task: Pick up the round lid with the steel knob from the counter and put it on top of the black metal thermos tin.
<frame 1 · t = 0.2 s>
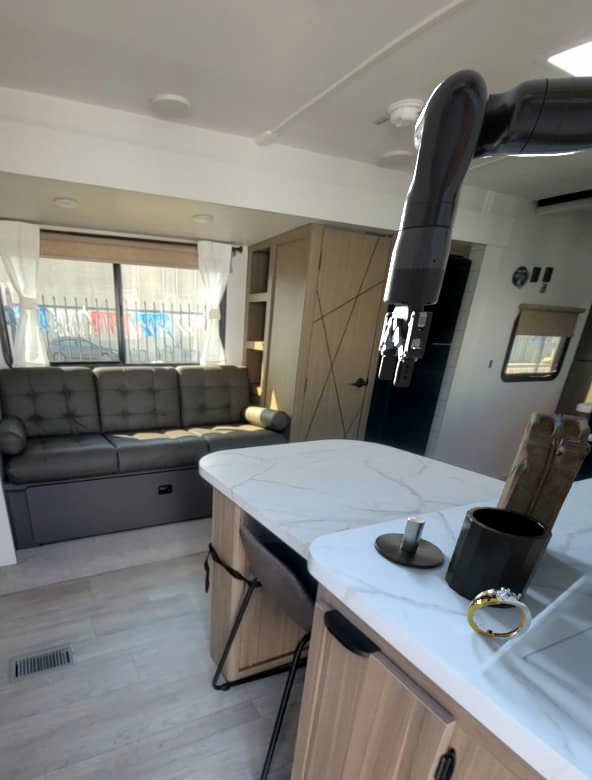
hand: (392, 382, 66), 30 cm above the table, tool pointing down, fingers open, 8 cm apart
tin: (480, 589, 66), on the table
lid: (407, 551, 75), point 1 cm above the table
ring: (488, 639, 56), on the table
weathered brown block: (507, 552, 77), on the table
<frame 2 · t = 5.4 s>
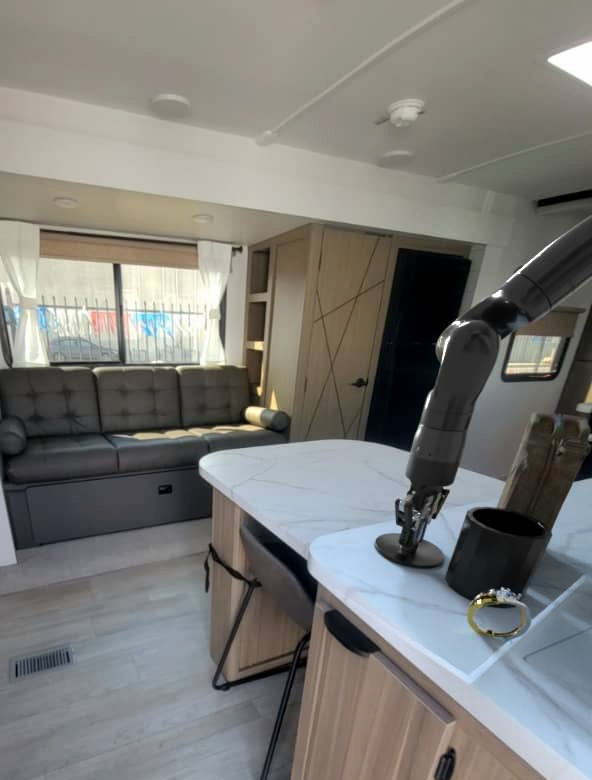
hand: (410, 542, 74), 2 cm above the table, tool pointing down, fingers closed on lid, 3 cm apart
lid: (407, 551, 75), point 1 cm above the table, touching gripper
everything else where it was.
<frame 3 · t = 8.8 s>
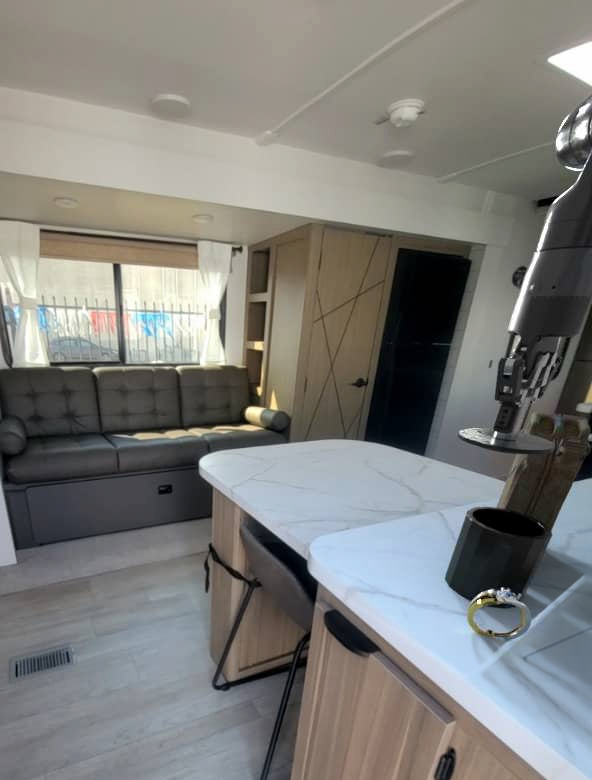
hand: (507, 430, 58), 25 cm above the table, tool pointing down, fingers closed on lid, 3 cm apart
lid: (503, 442, 59), point 24 cm above the table, touching gripper
everything else where it was.
when the fingers open (14 cm above the table, at t = 12.4 s): lid stays where it is, resting on tin.
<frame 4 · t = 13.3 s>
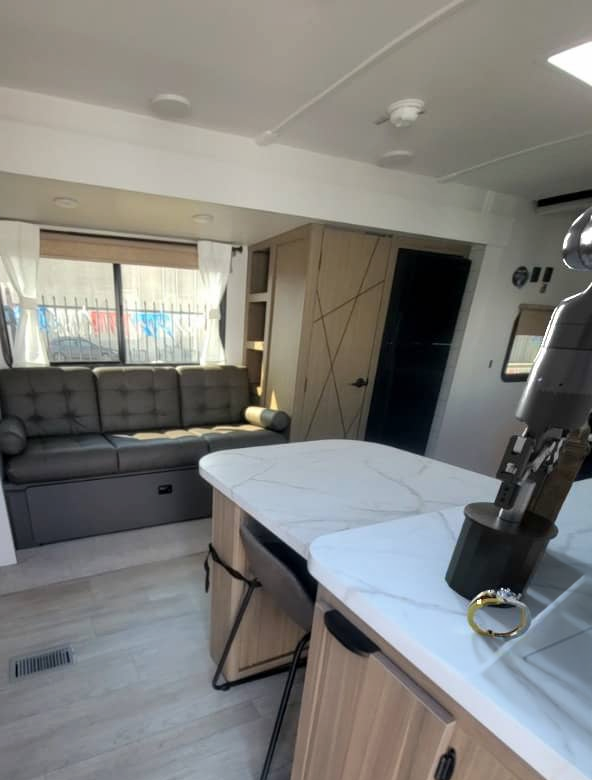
hand: (515, 501, 59), 16 cm above the table, tool pointing down, fingers open, 8 cm apart
lid: (507, 521, 60), point 12 cm above the table, touching tin
everything else where it was.
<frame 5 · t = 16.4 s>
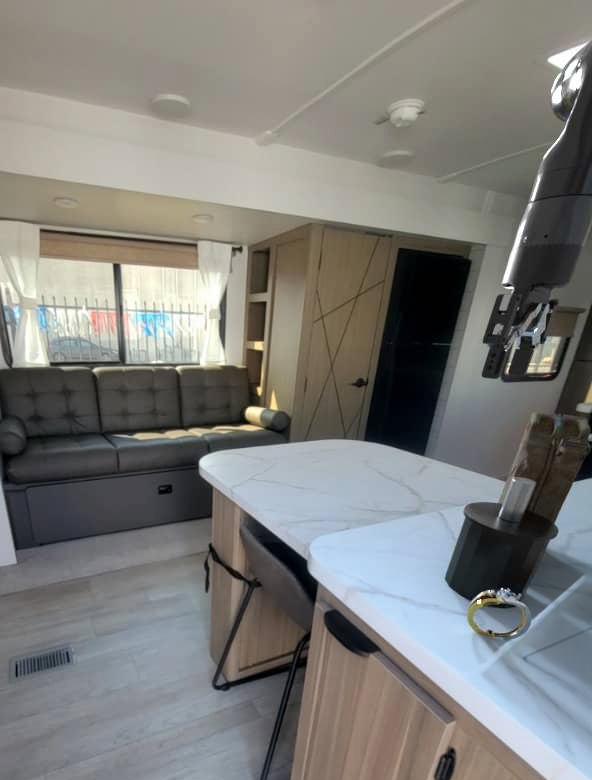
hand: (503, 376, 59), 32 cm above the table, tool pointing down, fingers open, 8 cm apart
nothing on the table moved.
at the end: lid 0.0 cm off-centre on the tin, point 12.5 cm above the tin's base; lid tilted 0° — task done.
